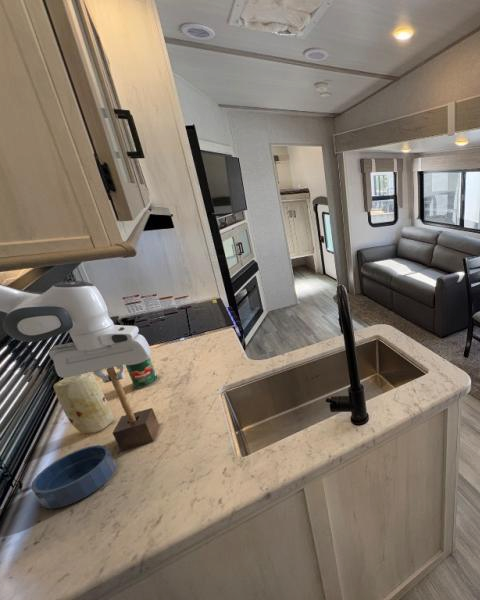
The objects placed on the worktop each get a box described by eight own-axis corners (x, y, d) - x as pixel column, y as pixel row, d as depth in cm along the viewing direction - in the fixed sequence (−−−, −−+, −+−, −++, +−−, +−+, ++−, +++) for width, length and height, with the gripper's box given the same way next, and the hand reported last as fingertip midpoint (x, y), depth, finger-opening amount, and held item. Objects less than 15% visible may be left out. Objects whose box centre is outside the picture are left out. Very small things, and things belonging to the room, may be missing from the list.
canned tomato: (142, 389, 122) (132, 365, 118) (129, 386, 125) (119, 363, 121) (162, 378, 129) (153, 355, 125) (149, 375, 132) (140, 353, 128)
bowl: (29, 520, 73) (16, 503, 71) (59, 474, 86) (50, 458, 83) (105, 493, 79) (96, 476, 77) (124, 453, 91) (116, 438, 89)
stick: (132, 431, 95) (105, 370, 87) (133, 428, 96) (107, 368, 89) (138, 429, 96) (112, 369, 88) (140, 426, 97) (114, 366, 89)
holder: (121, 451, 92) (112, 432, 90) (129, 433, 99) (121, 416, 97) (153, 441, 95) (145, 423, 93) (159, 424, 102) (152, 407, 100)
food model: (116, 416, 108) (93, 367, 101) (116, 425, 103) (91, 375, 96) (77, 430, 102) (50, 379, 95) (75, 441, 97) (46, 389, 90)
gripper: (39, 352, 78) (62, 397, 83) (137, 333, 86) (154, 375, 91) (52, 342, 84) (73, 385, 88) (144, 325, 92) (158, 365, 96)
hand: (115, 379), depth 90 cm, fingers closed on stick, 1 cm apart
